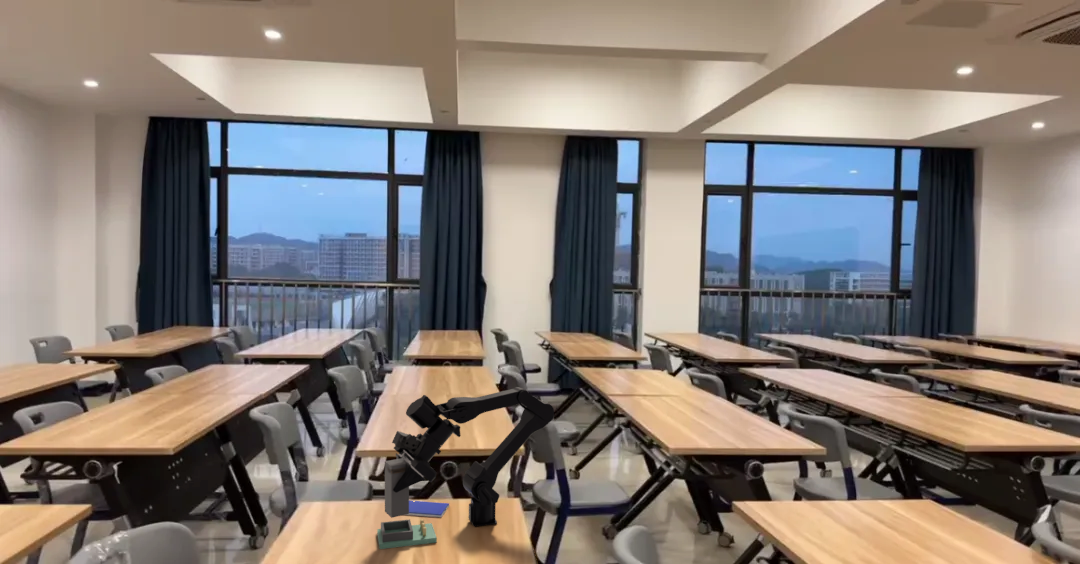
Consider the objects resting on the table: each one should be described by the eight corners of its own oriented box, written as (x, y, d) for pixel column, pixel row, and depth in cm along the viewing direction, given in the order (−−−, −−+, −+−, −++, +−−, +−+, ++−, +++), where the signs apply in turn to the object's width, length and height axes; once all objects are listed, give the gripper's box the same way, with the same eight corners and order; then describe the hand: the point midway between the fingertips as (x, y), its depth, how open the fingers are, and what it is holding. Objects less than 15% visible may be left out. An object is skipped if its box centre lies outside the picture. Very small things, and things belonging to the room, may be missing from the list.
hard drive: (398, 510, 177) (441, 513, 176) (407, 499, 185) (449, 502, 184) (398, 516, 177) (441, 519, 176) (407, 504, 185) (449, 507, 184)
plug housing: (401, 507, 165) (401, 458, 164) (408, 513, 161) (408, 463, 161) (384, 511, 162) (384, 461, 162) (391, 517, 159) (391, 466, 158)
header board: (431, 527, 169) (431, 515, 169) (436, 542, 161) (436, 529, 160) (377, 533, 165) (377, 521, 165) (379, 549, 156) (379, 536, 156)
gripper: (401, 411, 171) (359, 458, 166) (424, 429, 154) (378, 481, 150) (429, 437, 175) (389, 483, 170) (454, 456, 159) (411, 508, 154)
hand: (391, 488), depth 161 cm, fingers closed on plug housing, 5 cm apart
